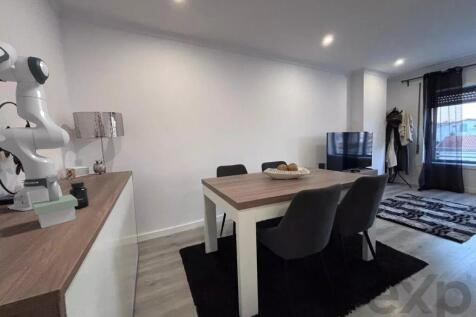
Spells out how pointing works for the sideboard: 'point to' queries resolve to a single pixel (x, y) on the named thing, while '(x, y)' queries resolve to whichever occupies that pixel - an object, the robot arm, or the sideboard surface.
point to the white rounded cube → (56, 217)
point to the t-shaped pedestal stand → (53, 198)
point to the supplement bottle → (79, 194)
